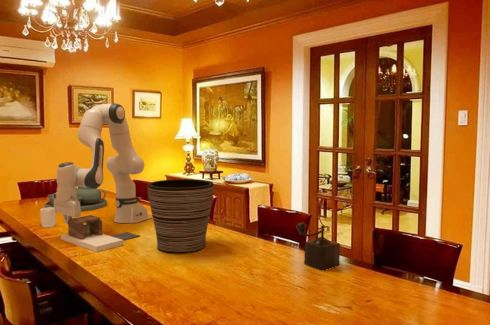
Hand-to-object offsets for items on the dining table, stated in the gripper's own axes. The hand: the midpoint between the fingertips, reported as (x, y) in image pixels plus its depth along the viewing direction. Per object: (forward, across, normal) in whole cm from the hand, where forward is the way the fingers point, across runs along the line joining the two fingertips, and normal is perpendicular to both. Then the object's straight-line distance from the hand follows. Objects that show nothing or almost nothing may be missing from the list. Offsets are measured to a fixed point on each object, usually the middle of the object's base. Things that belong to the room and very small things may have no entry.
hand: (67, 223), depth 202 cm
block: (+8, -6, -5) cm, 11 cm away
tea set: (+9, +77, -45) cm, 89 cm away
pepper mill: (+8, -114, -46) cm, 123 cm away
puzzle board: (+8, -13, -5) cm, 16 cm away
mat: (+8, -17, -21) cm, 28 cm away
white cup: (+8, +35, -7) cm, 37 cm away
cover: (+5, -8, -5) cm, 10 cm away
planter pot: (+8, -52, -28) cm, 59 cm away
